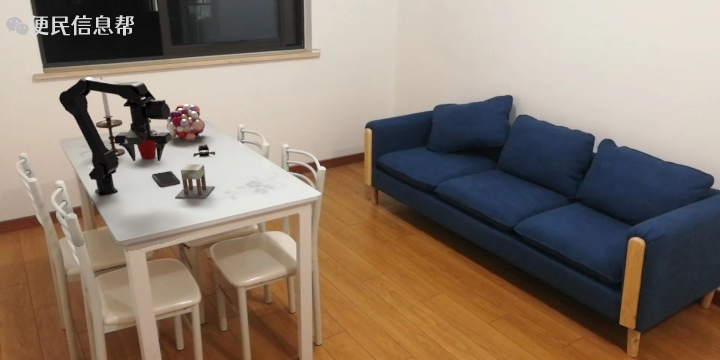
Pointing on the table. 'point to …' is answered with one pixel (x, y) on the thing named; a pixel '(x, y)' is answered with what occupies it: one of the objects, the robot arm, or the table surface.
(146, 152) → the plastic cup
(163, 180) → the phone
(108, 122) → the candlestick
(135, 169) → the table surface
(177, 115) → the ornament
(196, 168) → the stool
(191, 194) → the mat
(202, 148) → the black brimmed piece
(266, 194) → the table surface
